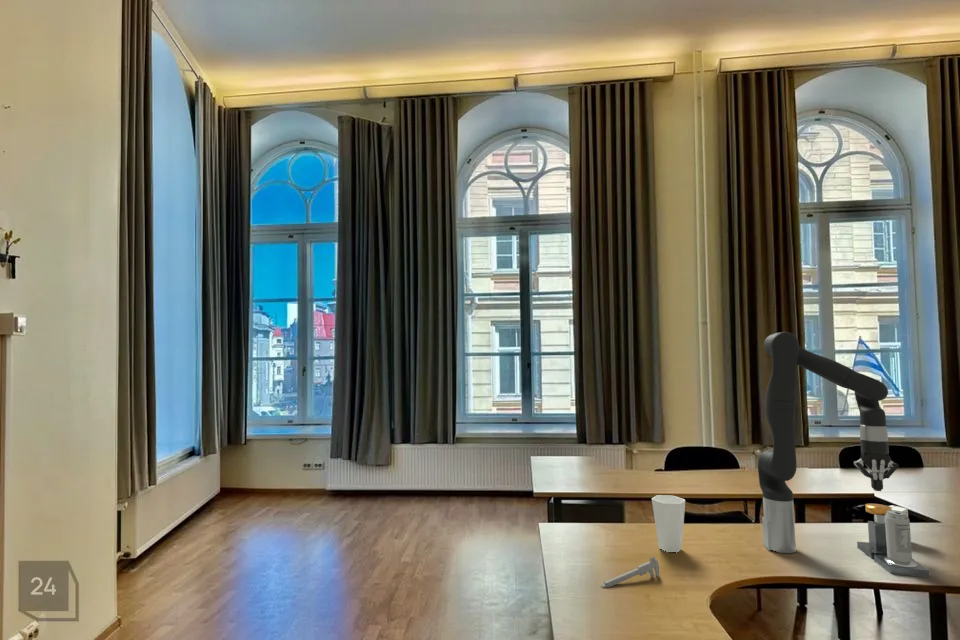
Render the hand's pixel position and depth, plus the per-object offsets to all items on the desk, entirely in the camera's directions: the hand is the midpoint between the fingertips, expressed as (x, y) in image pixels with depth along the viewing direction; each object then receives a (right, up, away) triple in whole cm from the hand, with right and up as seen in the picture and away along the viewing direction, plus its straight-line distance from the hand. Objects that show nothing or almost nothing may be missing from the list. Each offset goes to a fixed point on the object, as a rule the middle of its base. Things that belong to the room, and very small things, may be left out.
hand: (877, 490), depth 172 cm
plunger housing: (0, -21, -1) cm, 21 cm away
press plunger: (0, -14, -1) cm, 14 cm away
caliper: (-89, -21, -20) cm, 94 cm away
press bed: (-3, -20, -13) cm, 24 cm away
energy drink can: (-3, -18, -13) cm, 22 cm away
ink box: (+14, -22, +9) cm, 28 cm away
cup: (-68, -22, +5) cm, 72 cm away
